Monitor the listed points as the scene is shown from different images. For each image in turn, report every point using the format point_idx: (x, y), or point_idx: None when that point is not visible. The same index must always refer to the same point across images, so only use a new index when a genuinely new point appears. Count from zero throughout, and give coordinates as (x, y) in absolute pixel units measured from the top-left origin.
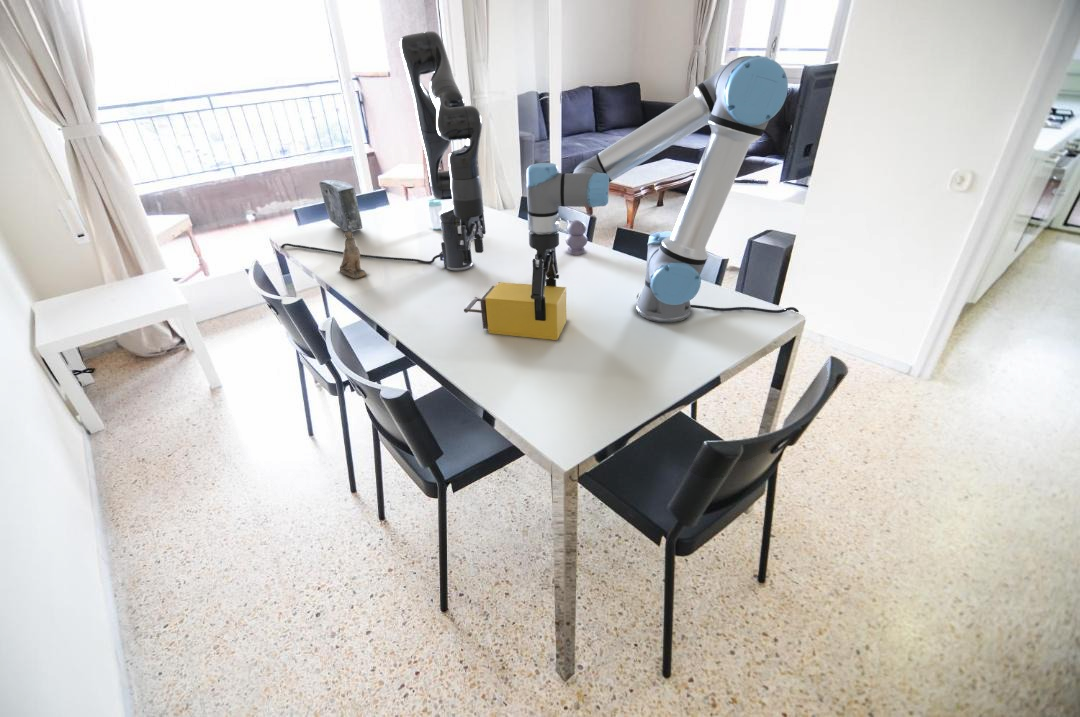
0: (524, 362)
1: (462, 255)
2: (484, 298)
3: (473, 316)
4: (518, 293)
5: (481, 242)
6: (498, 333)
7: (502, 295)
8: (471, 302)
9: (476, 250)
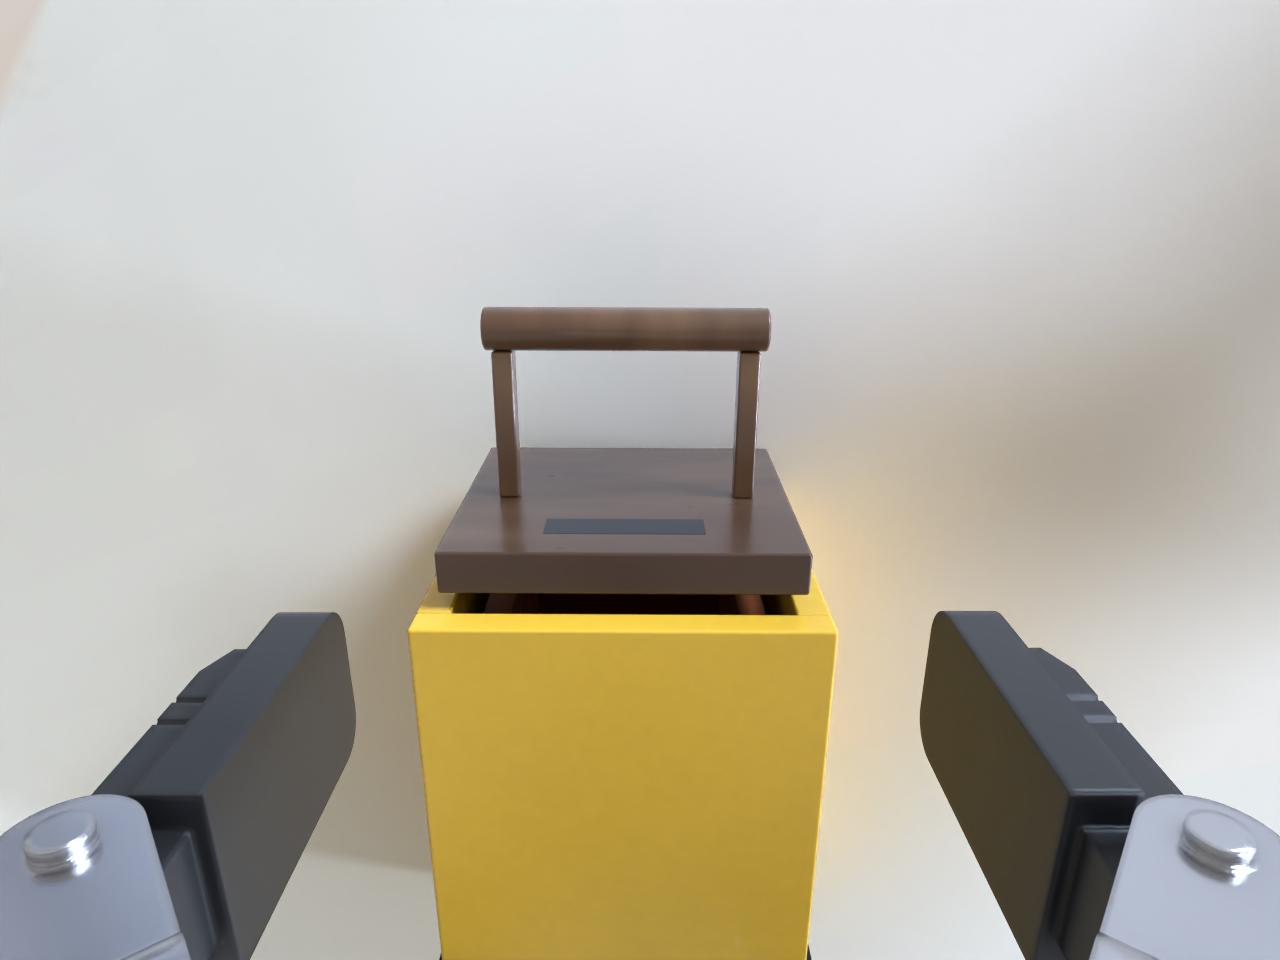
0: None
1: (213, 696)
2: (475, 582)
3: (731, 260)
4: (588, 873)
5: (1004, 901)
6: None
7: (508, 763)
8: (634, 334)
9: (948, 649)
